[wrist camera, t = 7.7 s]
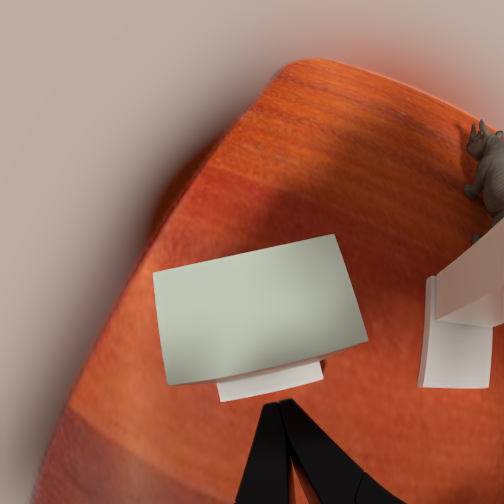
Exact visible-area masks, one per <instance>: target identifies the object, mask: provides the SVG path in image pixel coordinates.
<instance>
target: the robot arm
mask: <svg viewBox="0 0 504 504" xmlns="http://www.w3.org/2000/svg"><path fill="white" fill-rule="evenodd" d="M290 456H291V457H290ZM291 460H292V462H291ZM292 464H293V467H294V469H295V472H296V474H297V477H298V479H299V481H300V484H301V486H302V489H303V491H304V493H305V496H306V498H307V500H308V503H309V504H406V503H405V502H403V501H402V500H400V499H399V498H397V497H396V496H394V495H393V494H391V493H390V492H389V491H387V490H386V489H385V488H383V487H382V486H381V485H380V484H379V483H377V482H376V481H375V480H374V479H373V478H372V477H371V476H370V475H369V474H367V473H366V472H364V470H363V469H362V468H361V467H360V466H359V465H358V464H357V463H356V462H355V461H353V460H352V459H351V458H350V457H349V456H348V455H347V454H346V453H345V452H344V451H343V450H342V449H341V448H340V447H339V446H338V445H337V444H336V443H335V442H334V441H333V440H332V439H331V438H330V437H329V436H328V435H327V434H326V433H325V432H324V431H323V430H322V429H321V428H320V427H319V426H318V425H317V424H316V423H315V422H314V421H313V420H312V419H311V418H310V417H309V416H308V414H307V413H306V412H305V411H304V410H303V409H302V408H301V407H300V406H299V405H298V404H297V403H296V402H295V401H294V400H293V399H292V398H288V399H284V400H280V401H279V402H278V403H277V402H271V403H266V404H264V405H263V407H262V411H261V414H260V418H259V422H258V425H257V429H256V432H255V436H254V439H253V443H252V446H251V450H250V453H249V457H248V460H247V463H246V467H245V470H244V473H243V477H242V480H241V483H240V486H239V490H238V493H237V496H236V499H235V502H236V503H234V504H296V501H295V489H294V478H293V468H292Z"/></svg>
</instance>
